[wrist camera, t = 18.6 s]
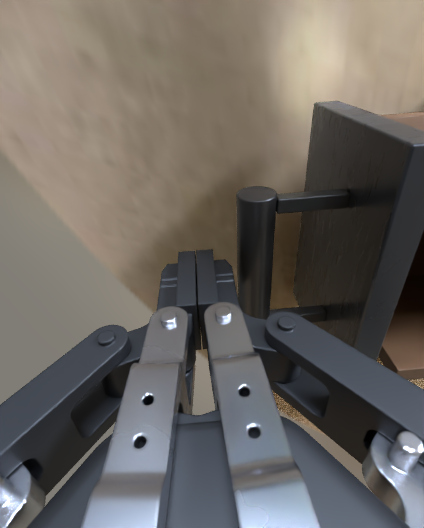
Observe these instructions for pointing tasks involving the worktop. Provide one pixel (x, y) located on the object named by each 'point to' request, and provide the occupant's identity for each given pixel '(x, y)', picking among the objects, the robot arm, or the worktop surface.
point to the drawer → (349, 235)
